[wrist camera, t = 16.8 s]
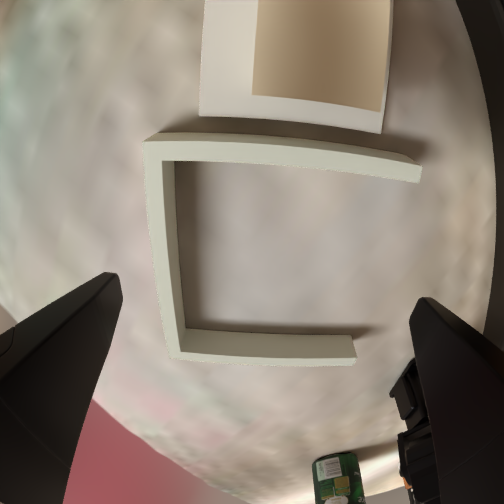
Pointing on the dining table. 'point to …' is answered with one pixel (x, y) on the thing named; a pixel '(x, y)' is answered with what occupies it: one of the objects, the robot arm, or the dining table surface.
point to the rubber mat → (241, 75)
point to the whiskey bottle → (410, 493)
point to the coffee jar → (338, 480)
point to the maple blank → (322, 51)
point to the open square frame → (166, 240)
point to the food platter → (492, 132)
